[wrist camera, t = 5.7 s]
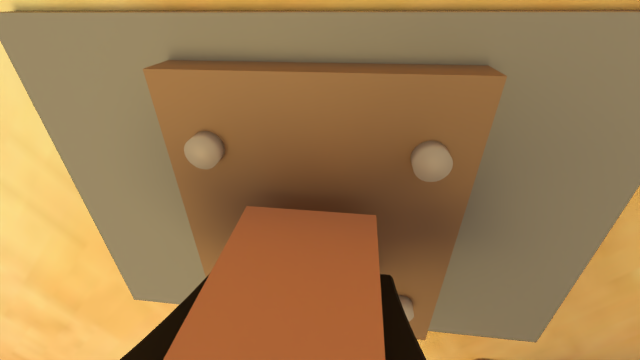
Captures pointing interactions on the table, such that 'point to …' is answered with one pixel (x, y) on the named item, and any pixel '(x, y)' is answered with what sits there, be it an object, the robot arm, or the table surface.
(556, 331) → the table surface
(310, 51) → the build base
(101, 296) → the table surface
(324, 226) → the snap block
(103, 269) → the table surface
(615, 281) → the table surface
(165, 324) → the robot arm
